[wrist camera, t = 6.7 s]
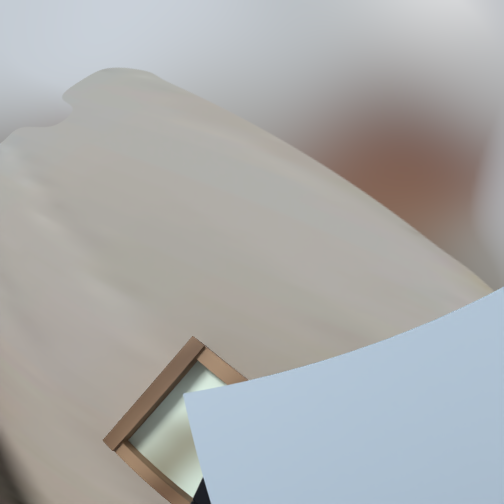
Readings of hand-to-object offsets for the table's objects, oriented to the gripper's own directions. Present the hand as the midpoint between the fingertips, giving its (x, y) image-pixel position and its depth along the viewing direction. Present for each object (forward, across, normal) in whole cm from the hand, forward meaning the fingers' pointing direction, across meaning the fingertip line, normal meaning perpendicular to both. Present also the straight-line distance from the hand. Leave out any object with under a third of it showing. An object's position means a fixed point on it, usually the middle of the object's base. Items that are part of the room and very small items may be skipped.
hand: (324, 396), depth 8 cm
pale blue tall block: (+4, 0, +6) cm, 7 cm away
